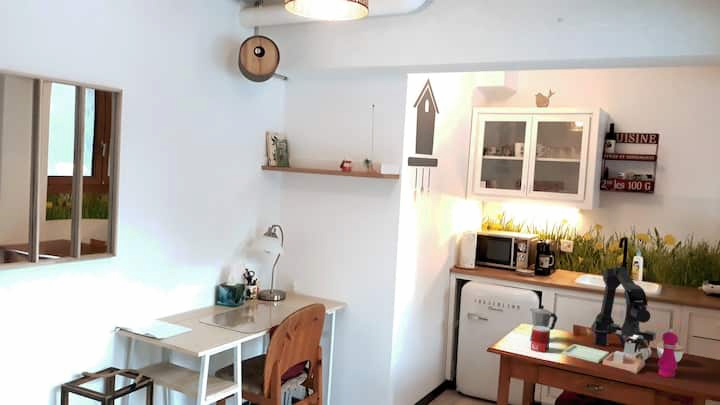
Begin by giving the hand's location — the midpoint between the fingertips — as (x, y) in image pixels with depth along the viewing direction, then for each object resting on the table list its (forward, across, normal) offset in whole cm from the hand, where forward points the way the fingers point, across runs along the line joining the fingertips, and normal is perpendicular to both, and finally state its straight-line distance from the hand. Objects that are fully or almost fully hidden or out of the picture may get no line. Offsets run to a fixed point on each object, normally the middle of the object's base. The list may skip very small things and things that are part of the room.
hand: (629, 351), depth 261 cm
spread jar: (+8, 0, +17) cm, 19 cm away
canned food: (+8, -37, -7) cm, 39 cm away
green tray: (+8, -19, +3) cm, 21 cm away
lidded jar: (+8, +12, +24) cm, 28 cm away
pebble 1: (+7, -5, +5) cm, 10 cm away
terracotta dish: (+8, -2, +2) cm, 8 cm away
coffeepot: (+8, -42, +8) cm, 44 cm away
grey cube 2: (+1, 0, 0) cm, 1 cm away
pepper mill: (+8, +15, +4) cm, 17 cm away
